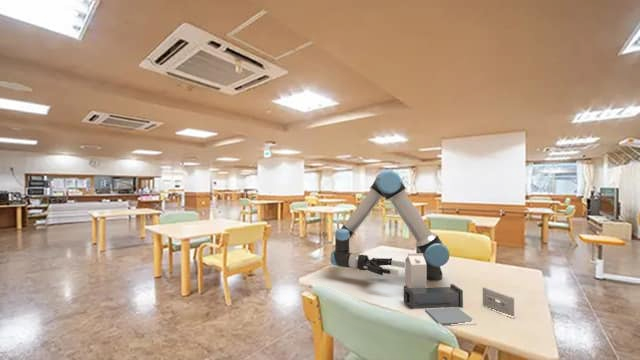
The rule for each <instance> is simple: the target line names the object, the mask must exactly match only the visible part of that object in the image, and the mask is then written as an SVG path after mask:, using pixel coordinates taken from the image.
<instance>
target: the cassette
mask: <svg viewBox="0 0 640 360" xmlns="http://www.w3.org/2000/svg"><path fill="white" fill-rule="evenodd" d="M496 300H497V301H496ZM498 301H499V302H498ZM483 305H484V306H483ZM482 306H483V307H485V306H487V307H488V308H491V309H494V310H496V311H499V312H502V313H505V314H508V315H511V316H514V317H515V298H514V297H512V296H511V295H510V296H509V295H506V294H504V293H501V292H498V291H496V290H493V289H490V288H488V287H485V286H484V287H482ZM487 307H486V308H487ZM488 308H487V309H488ZM491 309H490V310H491Z"/></svg>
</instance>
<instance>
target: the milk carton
mask: <svg viewBox="0 0 640 360" xmlns="http://www.w3.org/2000/svg"><path fill="white" fill-rule="evenodd" d="M404 262H405V268H404V271H405V272H404V274H405V276H404V281H405V282H404V285H406V286H408V287H409V288H428V285H427V281H428V280H427V264H426V261H425V259H424V256H423V253H414V252H413V253H412V252H411V253H407V257H406V258H405V261H404Z"/></svg>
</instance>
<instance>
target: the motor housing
mask: <svg viewBox="0 0 640 360" xmlns="http://www.w3.org/2000/svg"><path fill="white" fill-rule="evenodd" d="M463 297H464V290H463V289H461V288H460V287H458V286H457V285H455V284H453V283H450V285H449V286H441V287H440V286H436V287H434V286H433V287H427V288H409V287H408V286H406V285H405V284H404V285H403V303H404V304H405V305H406V306H407V308H409V309H410V310H415V309H416V310H417V309H442V308H441V307H444V308H464V298H463Z"/></svg>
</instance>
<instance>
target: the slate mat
mask: <svg viewBox="0 0 640 360" xmlns="http://www.w3.org/2000/svg"><path fill="white" fill-rule="evenodd" d="M424 311H425V313H426V314H427V315H429V317H430V318H431V319H432V320H434V322H435V323H437V322H438V323H440V324H442V325H444V326H452V325H451V324H458V323H465V322H471V321H472V319H473V317H471V316H469V315H468V314H467V313H465V312H464V311H463V310H461V308H460V307H444V308H424ZM438 323H437V324H438Z"/></svg>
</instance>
